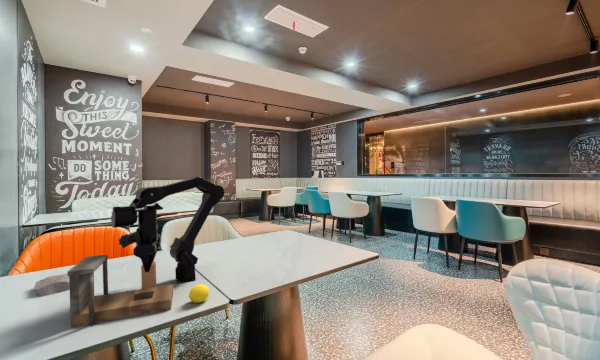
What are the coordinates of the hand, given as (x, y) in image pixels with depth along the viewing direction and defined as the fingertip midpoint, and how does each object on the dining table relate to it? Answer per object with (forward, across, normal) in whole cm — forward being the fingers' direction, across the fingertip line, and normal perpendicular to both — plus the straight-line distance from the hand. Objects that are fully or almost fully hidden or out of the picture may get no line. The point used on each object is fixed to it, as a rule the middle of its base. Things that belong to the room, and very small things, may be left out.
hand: (149, 267), depth 96 cm
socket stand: (+8, +13, -4) cm, 16 cm away
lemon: (+8, +17, +16) cm, 25 cm away
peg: (+8, 0, 0) cm, 8 cm away
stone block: (+8, -14, -32) cm, 36 cm away
